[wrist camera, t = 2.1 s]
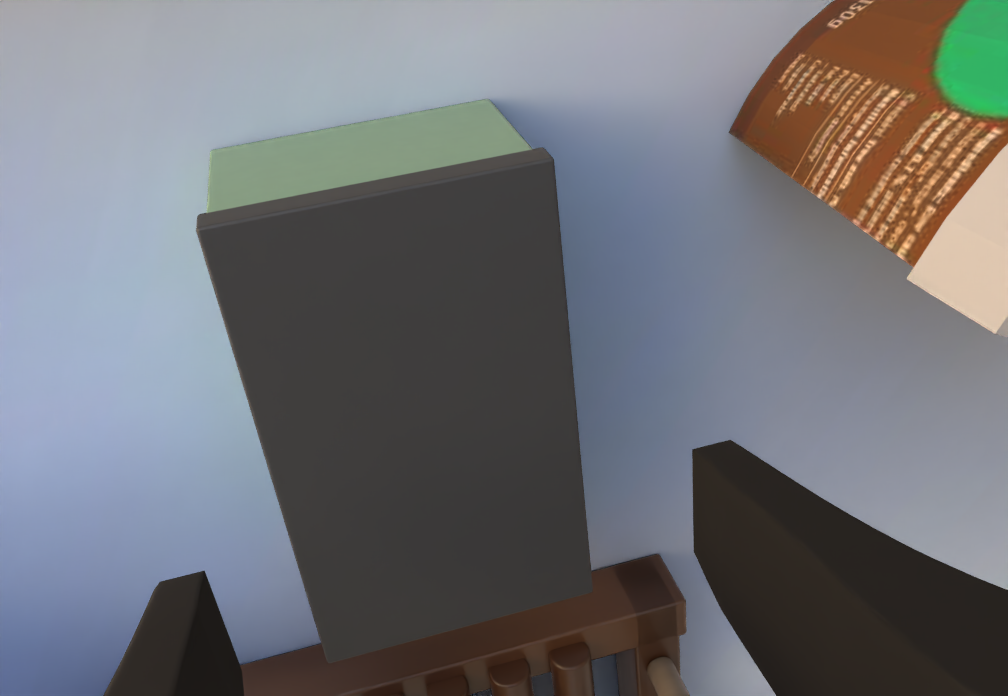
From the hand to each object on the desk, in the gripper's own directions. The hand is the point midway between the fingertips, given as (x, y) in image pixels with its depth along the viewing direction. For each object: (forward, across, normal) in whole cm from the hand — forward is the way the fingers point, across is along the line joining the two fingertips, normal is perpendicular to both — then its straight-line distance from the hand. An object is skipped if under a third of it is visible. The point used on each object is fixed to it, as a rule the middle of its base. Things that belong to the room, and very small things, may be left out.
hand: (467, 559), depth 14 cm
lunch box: (+7, 0, 0) cm, 7 cm away
